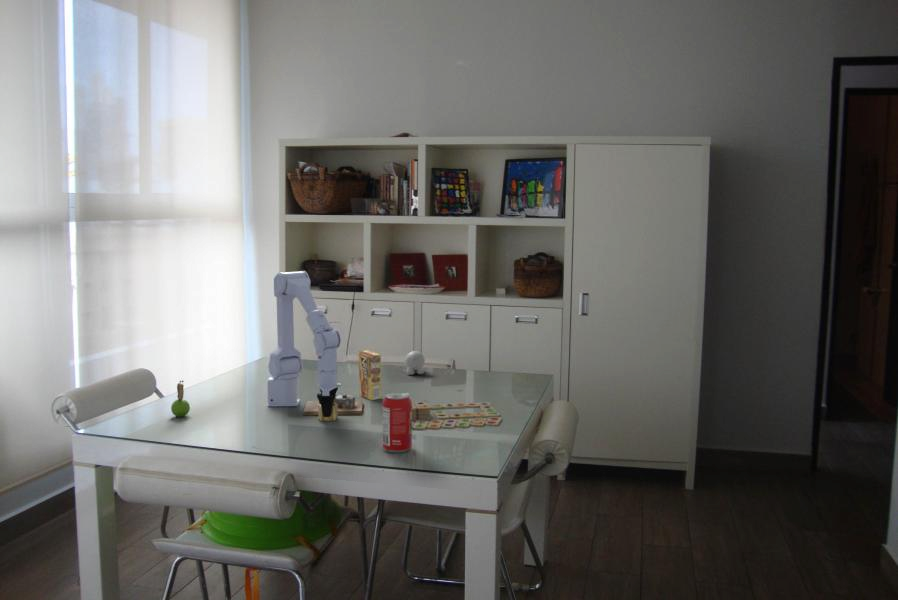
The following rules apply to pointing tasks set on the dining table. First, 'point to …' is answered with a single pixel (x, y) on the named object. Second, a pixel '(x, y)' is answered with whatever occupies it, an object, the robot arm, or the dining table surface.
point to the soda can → (397, 422)
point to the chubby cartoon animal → (414, 363)
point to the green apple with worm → (180, 403)
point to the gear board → (345, 406)
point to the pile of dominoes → (453, 416)
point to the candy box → (370, 374)
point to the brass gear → (333, 414)
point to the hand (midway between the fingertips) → (327, 413)
